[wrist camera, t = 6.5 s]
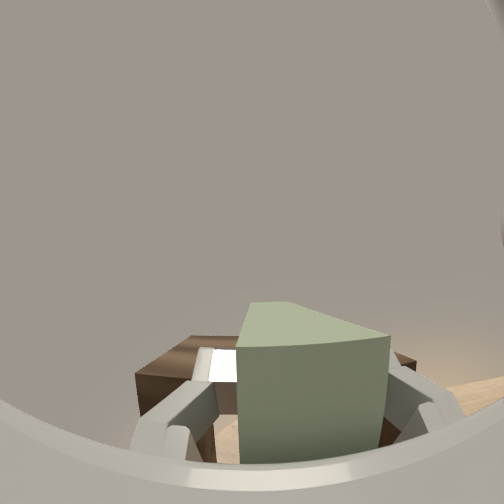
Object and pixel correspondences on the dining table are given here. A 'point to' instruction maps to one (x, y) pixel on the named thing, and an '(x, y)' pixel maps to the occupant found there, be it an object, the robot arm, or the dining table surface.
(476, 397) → the dining table surface
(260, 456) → the batten
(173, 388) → the stand
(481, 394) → the dining table surface
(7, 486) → the robot arm
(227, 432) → the dining table surface
